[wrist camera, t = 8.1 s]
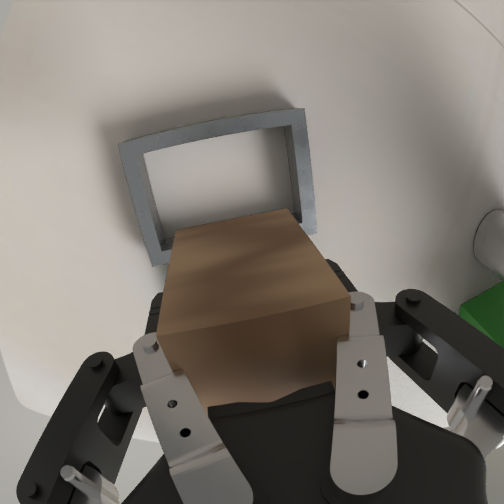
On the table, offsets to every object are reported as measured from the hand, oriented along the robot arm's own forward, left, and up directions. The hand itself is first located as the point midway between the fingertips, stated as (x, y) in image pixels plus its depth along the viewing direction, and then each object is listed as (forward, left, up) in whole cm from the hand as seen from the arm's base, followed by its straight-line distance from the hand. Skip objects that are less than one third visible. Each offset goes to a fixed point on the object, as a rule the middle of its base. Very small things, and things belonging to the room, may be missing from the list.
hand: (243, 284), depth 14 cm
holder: (0, 0, -19) cm, 19 cm away
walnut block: (0, 0, -1) cm, 1 cm away
